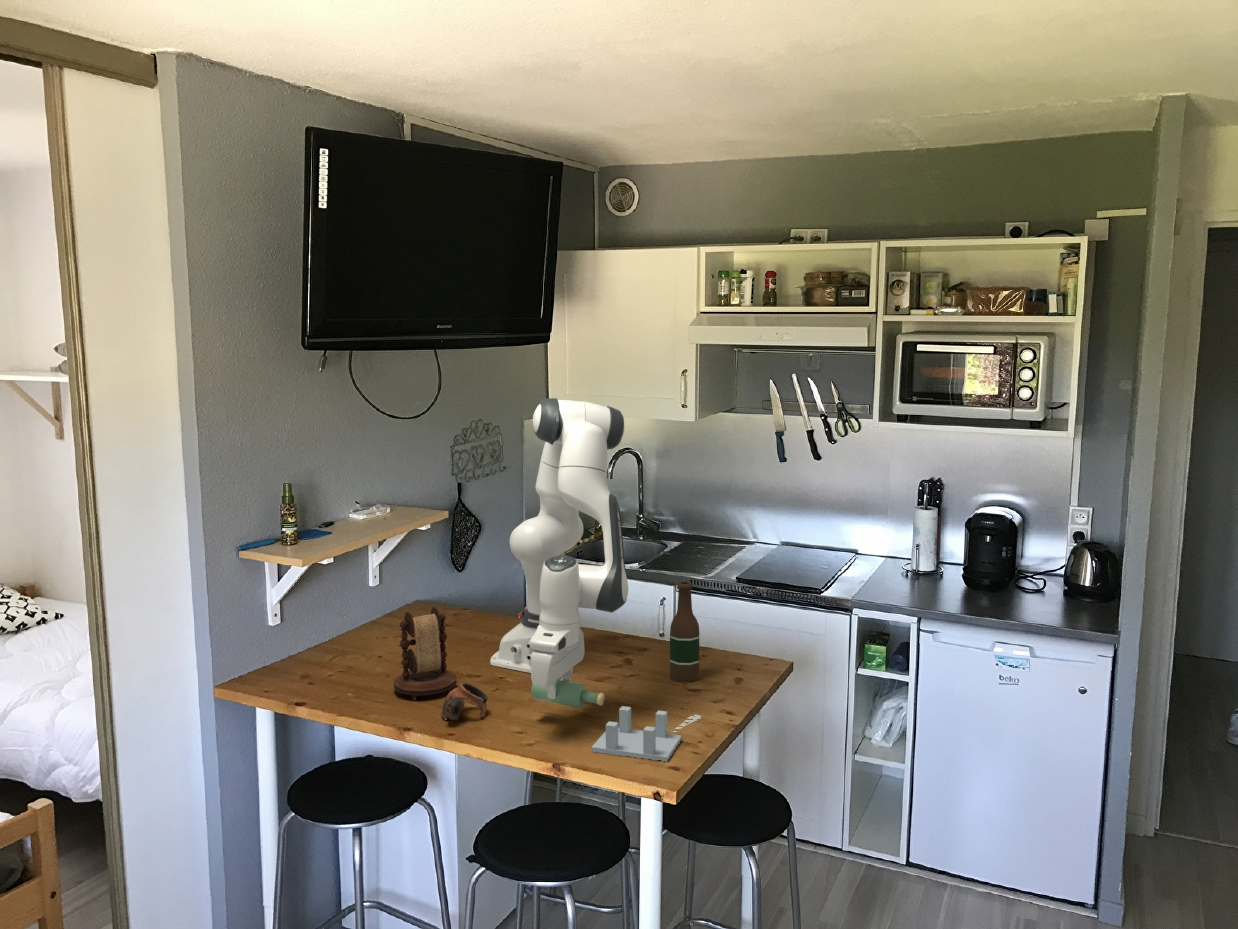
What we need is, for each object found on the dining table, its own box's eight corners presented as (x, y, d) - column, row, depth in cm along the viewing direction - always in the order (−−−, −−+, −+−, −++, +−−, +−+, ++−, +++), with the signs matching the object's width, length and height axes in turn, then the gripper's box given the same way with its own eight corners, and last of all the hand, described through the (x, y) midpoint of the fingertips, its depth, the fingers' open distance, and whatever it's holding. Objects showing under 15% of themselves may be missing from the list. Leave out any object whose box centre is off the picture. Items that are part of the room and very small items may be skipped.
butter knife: (704, 716, 220) (693, 713, 222) (646, 755, 200) (634, 752, 202) (704, 718, 220) (693, 715, 222) (646, 757, 200) (634, 753, 202)
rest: (591, 751, 202) (591, 723, 202) (609, 731, 213) (609, 704, 212) (667, 762, 197) (667, 733, 197) (681, 740, 208) (681, 713, 207)
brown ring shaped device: (446, 709, 227) (464, 677, 227) (480, 731, 225) (498, 699, 225) (425, 715, 215) (444, 682, 215) (461, 739, 213) (479, 705, 213)
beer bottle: (663, 679, 243) (663, 584, 240) (676, 670, 250) (676, 577, 247) (692, 684, 240) (693, 588, 236) (705, 674, 246) (705, 580, 243)
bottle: (531, 702, 217) (531, 680, 216) (541, 694, 221) (541, 673, 220) (597, 714, 211) (598, 692, 210) (606, 706, 216) (607, 684, 215)
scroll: (407, 706, 227) (404, 622, 225) (385, 687, 240) (381, 607, 237) (466, 693, 235) (464, 611, 233) (441, 675, 248) (439, 597, 245)
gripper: (566, 616, 225) (565, 674, 227) (525, 643, 206) (525, 706, 208) (591, 620, 223) (590, 678, 225) (553, 648, 204) (552, 711, 206)
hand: (558, 692), depth 217 cm, fingers closed on bottle, 5 cm apart
